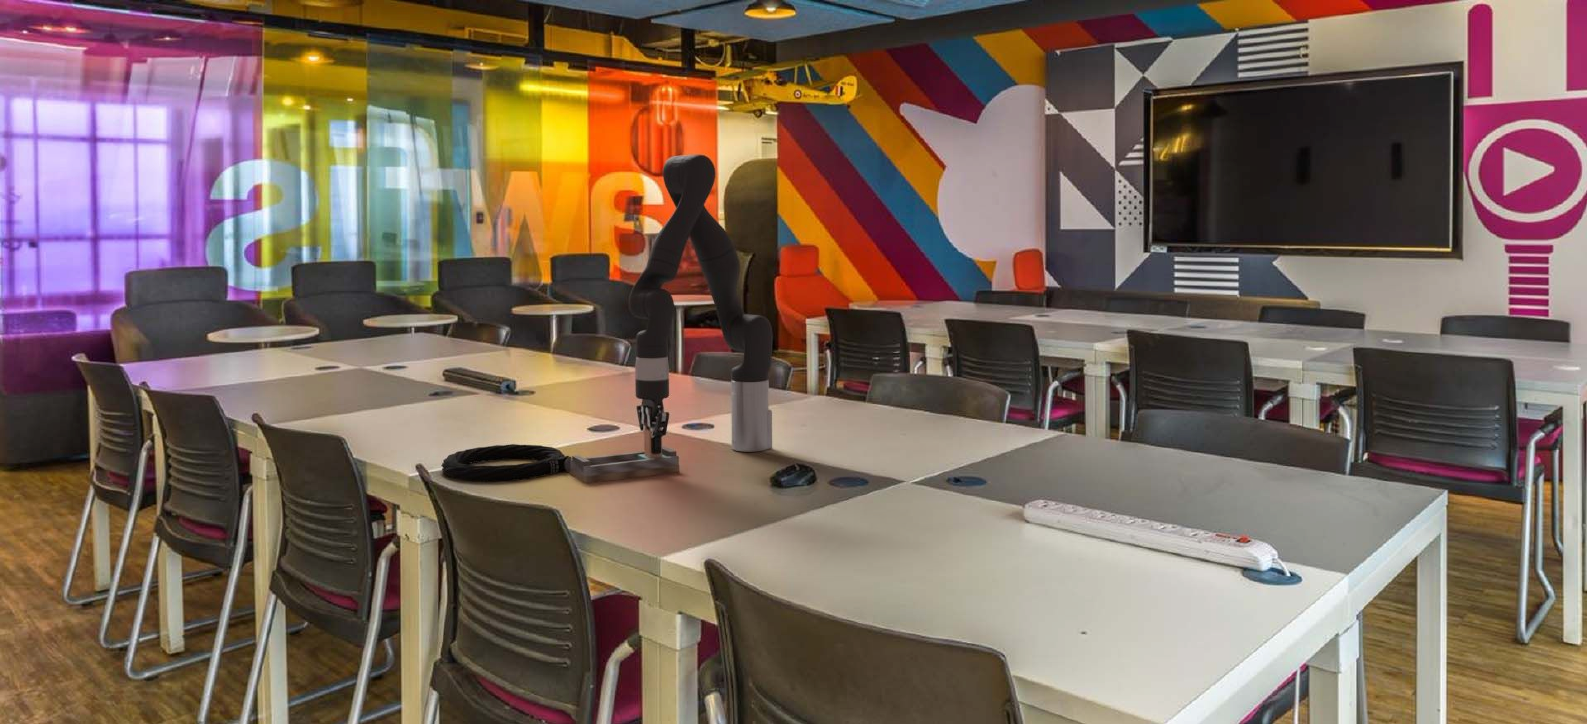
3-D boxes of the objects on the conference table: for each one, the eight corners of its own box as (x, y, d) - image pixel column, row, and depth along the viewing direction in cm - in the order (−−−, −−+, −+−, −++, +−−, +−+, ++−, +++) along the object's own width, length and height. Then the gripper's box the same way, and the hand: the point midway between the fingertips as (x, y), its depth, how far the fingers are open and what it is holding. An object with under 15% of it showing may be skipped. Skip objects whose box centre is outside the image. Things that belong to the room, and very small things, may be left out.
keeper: (658, 459, 264) (657, 426, 263) (669, 464, 259) (668, 431, 258) (637, 461, 262) (637, 428, 261) (648, 466, 256) (648, 433, 255)
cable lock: (476, 440, 278) (593, 444, 272) (477, 456, 279) (593, 460, 273) (417, 464, 251) (545, 469, 245) (418, 481, 252) (546, 487, 246)
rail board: (661, 463, 267) (661, 444, 266) (679, 471, 258) (679, 452, 258) (570, 474, 256) (569, 454, 255) (585, 483, 247) (585, 462, 247)
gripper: (680, 379, 254) (681, 456, 256) (655, 372, 266) (656, 445, 268) (648, 381, 250) (649, 459, 252) (624, 374, 262) (625, 448, 264)
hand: (653, 451), depth 260 cm, fingers closed on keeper, 3 cm apart
